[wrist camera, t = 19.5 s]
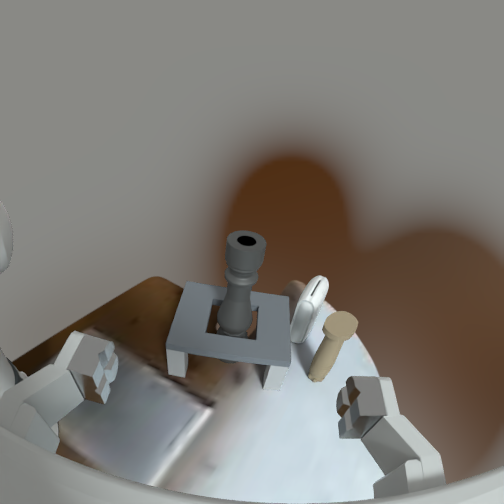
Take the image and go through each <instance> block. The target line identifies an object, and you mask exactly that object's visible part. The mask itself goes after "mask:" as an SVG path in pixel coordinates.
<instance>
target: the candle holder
mask: <svg viewBox="0 0 504 504" xmlns="http://www.w3.org/2000/svg"><path fill="white" fill-rule="evenodd" d="M265 248H266V241H265V239H264V238H263V237H262V236H260V235H259V234H257V233H254V232H250V231H235V232H233V233H231V234H229V236H228V237H227V245H226V253H225V259H226V261H227V265H228V268H227V269H226V270H225V279H226V280H227V282H228V286H227V293H226V295H225V297H224V300H223V302H222V304H221V306H220V309H219V311H218V314H217V321H218V323H219V325H220V328H219V329H218V331H217V335H223V336H230V337H237V338H244V339H247V338H248V337H247V332H246V330H247V329H248V328H249V327H250V325H251V323H252V310H251V301H250V295H251V289H252V286H253V285H254V284H255V283H256V282H257V280H258V273H257V272H256V271H257V270H258V269H259V267H260V266H261V265H262V262H263V259H264V254H265ZM218 359H219V358H218ZM219 360H221V361H223V362H226V363H236V362H239V361H233V360H226V359H219Z"/></svg>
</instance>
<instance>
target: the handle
mask: <svg viewBox="0 0 504 504" xmlns="http://www.w3.org/2000/svg"><path fill="white" fill-rule="evenodd" d="M357 325H358V321H357V319H356V318H355V317H354V316H353V315H351V314H350V313H348V312H345V311H340V312H335V313H333V314H331V315H330V316H328V317H327V319H326V321H325V323H324V326H323V329H322V330H323V333H324V334H325V337H324V339H323V341H322V343H321V344H320V346H319V348H318V350H317V351H316V353H315V355H314V358H313V360H312V363H311V366H310V370H309V375H308V378H309V379H311V380H312V381H313V382H317V381H319V382H321V381H322V380H323V379H324V378H325V376H326V375H327V374H328V372H329V371H330V369H331V368H332V366H333V365H334V363H335V361H336V358H337V356H338V354H339V351H340V349H341V347H342V344H343V342H344V341H346V340H348V339H350V338H351V337H352V335H353V334H354V333H355V331H356V328H357Z"/></svg>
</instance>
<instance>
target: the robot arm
mask: <svg viewBox="0 0 504 504" xmlns="http://www.w3.org/2000/svg"><path fill="white" fill-rule="evenodd" d="M12 250H13V231H12V225H11V221H10V217H9V215H8V213H7V210H6V208H5V206H4V205H3V204H2V202H1V200H0V274H1V273H2V272H3V271H5V269H7V268H8V266H9V263H10V260H11V256H12ZM114 348H115V347H114V344H113V342H112V341H108V340H105V339H101V338H97V337H94V336H90V335H87V334H84V333H80V332H77V331H74V332H72V333H71V334H70V336H69V338H68V339H67V341H66V343H65V345H64V346H63V348H62V350H61V352H60V354H59V355H58V357H57V359H56V361H55V363H54V365H52V364H49V365H47V366H46V367H44V368H42V369H41V370H39V371H38V372H36V373H34V374H33V375H31V376H29V377H27V375H26V374H25V373H24V372H19V371H18V370H17V368H16V367H15V366H14V365H13V364H12V362H11V361H10V360H9V359H8V358H6V357H5V355H4V353H3V352H2V350H1V348H0V504H285V503H260V502H246V501H236V500H226V499H218V498H211V497H204V496H198V495H192V494H186V493H181V492H176V491H171V490H166V489H162V488H158V487H153V486H149V485H145V484H141V483H138V482H134V481H130V480H127V479H123V478H120V477H117V476H114V475H111V474H107V473H104V472H101V471H98V470H96V469H93V468H90V467H87V466H85V465H82V464H79V463H77V462H74V461H72V460H69V459H67V458H64V457H62V456H59V455H57V454H55V453H56V450H57V447H58V444H59V441H60V439H59V437H58V423H57V422H58V421H59V420H61V419H62V418H63V417H64V416H65V415H67V414H68V413H69V412H70V411H71V410H73V409H74V408H75V407H76V406H77V405H79V404H80V403H81V402H82V401H84V399H87V400H90V401H94V402H97V403H101V404H104V405H105V403H106V400H107V398H108V395H109V393H110V387H109V383H110V382H112V381H113V380H115V377H116V374H117V370H118V358H117V355H116V354H115V353H114V352H113V351H114ZM336 407H337V413H338V414H339V415H340V416H341V419H340V421H339V422H338V427H339V437H340V439H361V441H362V442H363V444H364V445H365V447H366V448H367V450H368V451H369V453H370V454H371V455H372V457H373V458H374V460H375V461H376V463H377V464H378V466H379V467H380V468H381V470H382V471H383V473H384V474H385V476H384V477H382V478H381V479H379V480H378V481H376V482H375V483H374V484H373V489H374V499H367V500H358V501H348V502H334V503H309V504H504V466H502V467H499V468H496V469H494V470H491V471H488V472H485V473H482V474H479V475H476V476H473V477H470V478H467V479H464V480H460V481H457V482H454V483H450V484H446V481H445V476H444V471H443V466H442V462H441V457H440V454H439V453H438V452H437V451H436V450H435V449H434V448H433V446H431V444H430V443H429V442H428V441H427V440H426V439H425V438H424V437H423V436H422V435H421V434H420V433H419V432H418V430H416V428H415V427H414V426H413V425H412V424H411V423H410V422H409V421H408V420H407V418H406V417H405V416H404V415H400V413H399V409H398V405H397V400H396V396H395V392H394V389H393V384H392V381H391V379H390V378H389V377H366V376H351V377H349V378H348V379H347V381H346V386H345V387H343V388H341V390H340V392H339V393H338V397H337V404H336Z"/></svg>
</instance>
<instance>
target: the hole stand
mask: <svg viewBox="0 0 504 504" xmlns="http://www.w3.org/2000/svg"><path fill="white" fill-rule="evenodd" d="M226 293H227V288H226V287H220V286H213V285H207V284H201V283H195V282H189V281H187V282H186V285H185V288H184V290H183V293H182V296H181V299H180V302H179V305H178V308H177V311H176V314H175V317H174V320H173V323H172V326H171V329H170V332H169V335H168V338H167V341H166V352H167V363H168V373H169V375H174V376H180V377H185V375H186V371H187V367H188V353H190V354H195V355H201V356H207V357H213V358H219V359H226V360H233V361H239V362H247V363H254V364H262V365H267V367H266V370H265V373H264V378H263V389H266V390H275V391H280V389H281V386H282V384H283V381H284V379H285V376H286V374H287V371H288V369H289V366H290V364H291V339H290V312H289V297H288V296H281V295H273V294H266V293H260V292H252V291H251V295H250V301H251V310H252V311H258V312H257V313H258V314H257V326H256V340H251V339H244V338H237V337H230V336H223V335H217V334H211V333H206V331H207V326H208V322H209V317H210V313H211V309H212V305H218V306H221V304H222V302H223V300H224V297H225V295H226Z"/></svg>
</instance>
